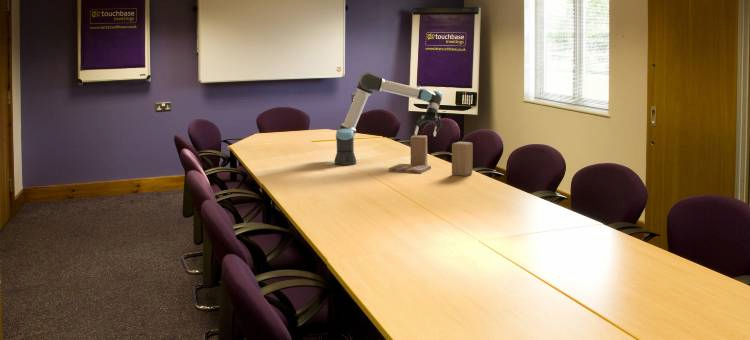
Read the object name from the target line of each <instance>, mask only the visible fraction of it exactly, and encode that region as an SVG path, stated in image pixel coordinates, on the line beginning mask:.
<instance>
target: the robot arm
mask: <svg viewBox="0 0 750 340" xmlns="http://www.w3.org/2000/svg"><path fill="white" fill-rule="evenodd" d="M374 92H378V93H379V92H385V93H386V92H387V93H390V94H395V95H398V96H403V97H408V98H411V99H414V100H420V101H423V102H426V103H428V105H427V109H426V110H425V111H426V112H425V115H423V114H420V116H419V117H418V119H416V120H415V122H413V127H414V134H413V135H418V133H419V128H420V126H423V124H426V123H433V124H434V125H435V126H434V131H433V133H432V134H433V137H436V136H437V133H439V130H440V129H443V125H442V122H441V116H440V114H438V111H439V110H440V109H439V108H440V106H441V102H442V100H443V99H442V98H443V94H442V92H441V91H438V90H434V91H430V90H429V89H426V88H423V87H422V86H419V85H418V86H416V87H415V86H412V85H407V84H402V83H400V82H399V83H398V82H397V81H396V82H395V81H392V80H391V81H390V80H387V79H384V78H383V77H381V76H378V75H376V74H374V73H372V72H369V71H367V72H366V71H365V72H364V73H362V74H361V75H360V76H359V81H358V82H357V86H356V93H355V96H354V98H353V100H352V103H351V105H350V108H349V110H348V112H347V114H346V117H345V119H344V122H342V123H340V125H339V128H338V129H337V130H336V134H335V140H336V154H335V157H334V160H333V162H334V165H335V166H353V165H356V164H357V157H356V156H355V146H354V143H355V142H354V141H355V140H354V137H355V135H356V133H357V129H356V127H357V125H358V122H359V120H360V117H361V115H362V112H363V110H364V108H365V105H366V103H367V101H368V98H369V96H372V94H373V93H374ZM436 120H437V121H436Z"/></svg>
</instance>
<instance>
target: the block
mask: <svg viewBox="0 0 750 340" xmlns="http://www.w3.org/2000/svg"><path fill="white" fill-rule="evenodd" d="M473 145H474V144H473V142H471V141H457V142H453V143H452V144H451V175H453V176H458V175H459V177H467V176H469V175H473V160H474V159H473V158H474V157H473V156H474V155H473V150H474V149H473Z"/></svg>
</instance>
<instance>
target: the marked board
mask: <svg viewBox="0 0 750 340" xmlns="http://www.w3.org/2000/svg"><path fill="white" fill-rule="evenodd" d="M431 169H432V166H431V165H428V164H427V165H413V164H411V163H398V164H395V165H393V166H391V167H389V168H388V172H395V173H396V172H397V173H408V174H409V173H410V174H411V173H412V174H423V173H425V172H427V171H429V170H431Z"/></svg>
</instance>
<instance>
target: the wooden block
mask: <svg viewBox="0 0 750 340" xmlns="http://www.w3.org/2000/svg"><path fill="white" fill-rule="evenodd" d="M410 164H413V165H428V135H422V134H421V135H418V134H417V135H415V134H413V135H411V136H410Z"/></svg>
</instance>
